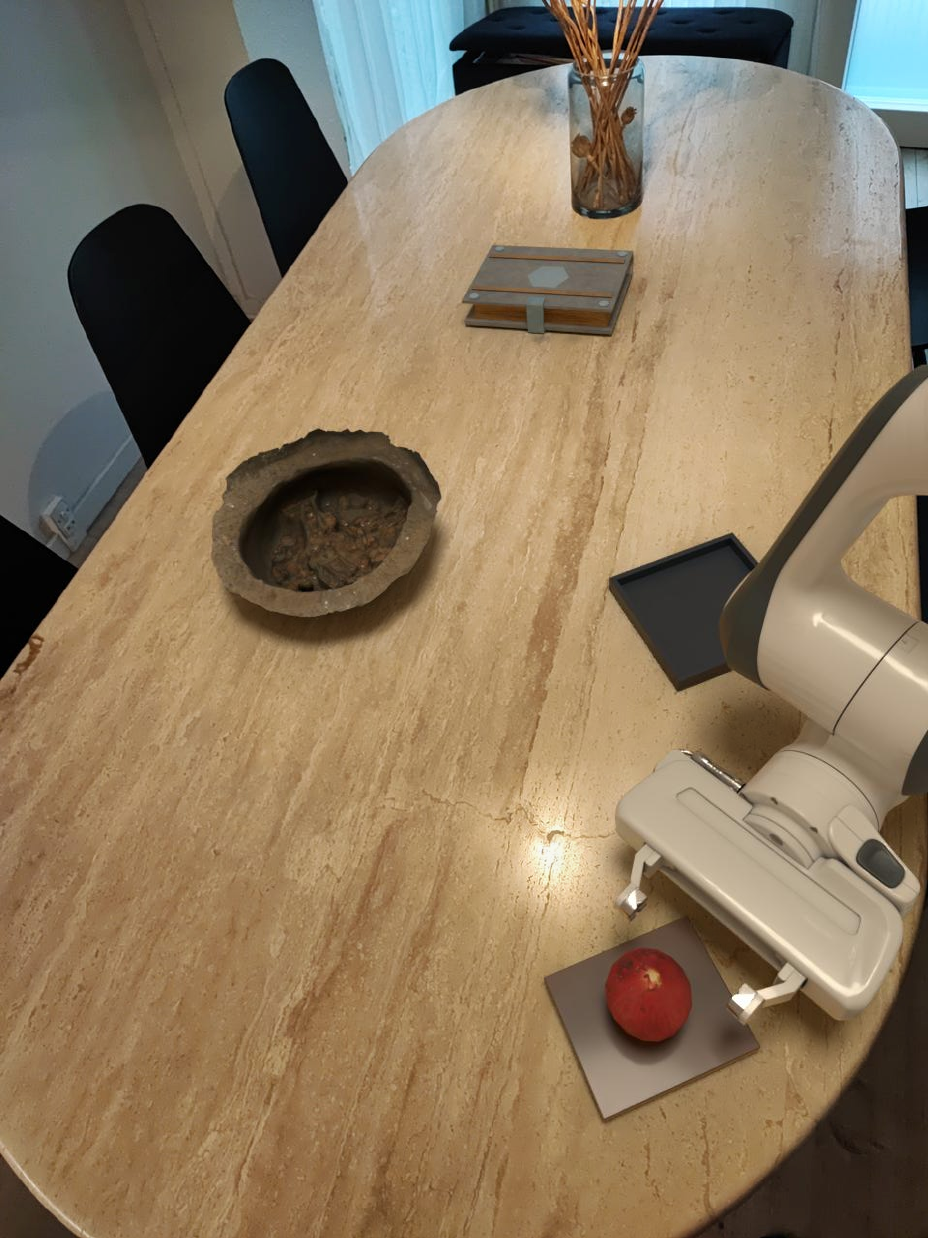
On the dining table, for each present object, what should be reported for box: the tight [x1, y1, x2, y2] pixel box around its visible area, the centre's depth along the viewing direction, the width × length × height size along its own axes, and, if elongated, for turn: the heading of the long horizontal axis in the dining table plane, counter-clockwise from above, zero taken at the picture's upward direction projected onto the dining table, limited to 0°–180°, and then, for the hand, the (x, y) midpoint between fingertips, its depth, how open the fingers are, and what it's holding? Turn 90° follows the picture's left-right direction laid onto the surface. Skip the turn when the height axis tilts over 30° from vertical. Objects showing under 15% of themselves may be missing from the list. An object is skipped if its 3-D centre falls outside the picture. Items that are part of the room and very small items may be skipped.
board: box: [543, 915, 761, 1124], centre depth 62 cm, size 10×12×1 cm
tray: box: [608, 531, 759, 692], centre depth 84 cm, size 14×14×2 cm
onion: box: [605, 948, 692, 1042], centre depth 58 cm, size 6×6×8 cm
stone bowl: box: [210, 428, 442, 618], centre depth 92 cm, size 25×25×9 cm
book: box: [461, 244, 635, 336], centre depth 121 cm, size 21×16×5 cm
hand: (676, 961), depth 57 cm, fingers open, 8 cm apart
